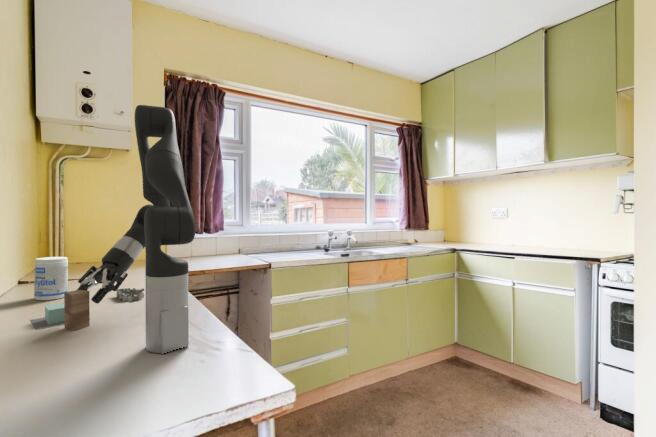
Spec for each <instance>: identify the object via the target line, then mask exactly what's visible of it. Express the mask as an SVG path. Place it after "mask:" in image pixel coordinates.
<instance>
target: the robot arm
mask: <svg viewBox="0 0 656 437" xmlns="http://www.w3.org/2000/svg"><path fill="white" fill-rule="evenodd" d="M176 126H177V125H176V118H175V115H174V112H173V110H172V109H171V108H168V107H164V106H157V105H156V106H155V105H147V104H146V105H145V104H138V105H136V107H135V109H134V128H135V135H136V136H135V137H136V144H137V150H138V156H139V161H140V166H141V173H142V174H141V175H142V196H143V198H144V199H145V200H146V201H147V202H150V203H151V204H145V205H143V206H142V207H141V208H139V210H138V211H137V213H136V215H135V218H134V219H133V222H132V224H131V227H130V228H129V229H128V230H127V231H126V233H125V234H123V236H122V237H121V238H120V239H118V240H117V241H116V242H115V243H114V244H113V245H112V247H111V248H110V249H109V250H108V251H107V252H106V253H105V254H104V256H102V258H101V263H102V264H101V265H100V266H99V267H96V266H95V265H92V266H90V268H89V269H88V270H87V271H86V272H85V273H84V274H83V275H82V276H81V277H80V278H79V279H78V280H77V283H79V284H80V285H79V287H78V288H77V289H76V290H86V291H89V290H88V289H90V288H92V287H94V286H98V285H100V284H101V287H100V288H99V289H98V290H97V291H96V292H95V293H94V295H93V296H91V299H90V300H91V301H92V302H93V303H95V304H98V305H99V304H100V303H101V301H102V300H103V299H104V298H105V297H106V296H107V294H108V293H111V292H112V291H113V292H116V290H117V289H120V287H121V285H122V283H123V282H124V281H125V280H126V278H127V277H128V275H129V274H128V273H127V271H128V270H129V269H130V267H131V266H132V265H133V264H134V262H136V260H137V259H138V257H140V255H141V253H142V251H143V250H144V249H145V351H147V352H149V353H155V354H156V353H157V354H161V355H164V353H165V354H168V353H171V352H174V351H173V350H175V351H177V350H176V349H178V350H180V349H179V348H182V347H185V348H187V347H186V346H188V345H189V340H190V339H189V331H190V330H189V328H190V327H189V319H190V318H189V316H190V315H189V263H188V261H187V260H185V259H182V258H178V257H176V256H172V255H169V254H167V253H165V252H164V251H163V250H162V246H176V245H177V246H178V245H179V246H180V245H186V244H191V243H192V242H193V241H194V239H195V237H196V221H195V216H194V213H193V208H192V205H191V201H190V197H189V195H188V192H187V186H186V181H185V180H186V179H185V175H184V174H185V173H184V168H183V167H184V166H183V162H182V158H181V153H180V149H179V145H178V144H179V143H178V135H177V127H176ZM149 137H150V138H160V139H159V140H158V141H156V142H155V143H154V144H153V145H152V146H151V147H150V144H149V140H148V139H149ZM115 283H116V284H115ZM188 347H189V346H188ZM182 349H183V348H182ZM170 351H171V352H170ZM167 352H168V353H167Z"/></svg>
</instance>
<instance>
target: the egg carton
mask: <svg viewBox="0 0 656 437" xmlns="http://www.w3.org/2000/svg"><path fill="white" fill-rule="evenodd" d="M115 292H116V295H115V296H116V298H117V299H119V300H122V301H123V302H127V303H129V302H132V301H142V300H143V299H142V298H145V293H144V292H145V288H140V289H138V288H137V289H136V288H135V287H134V288H132V289H131V288H130V287H128V288H127V287H126V288H118V289H117V290H116V291H115ZM141 299H142V300H141Z"/></svg>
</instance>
